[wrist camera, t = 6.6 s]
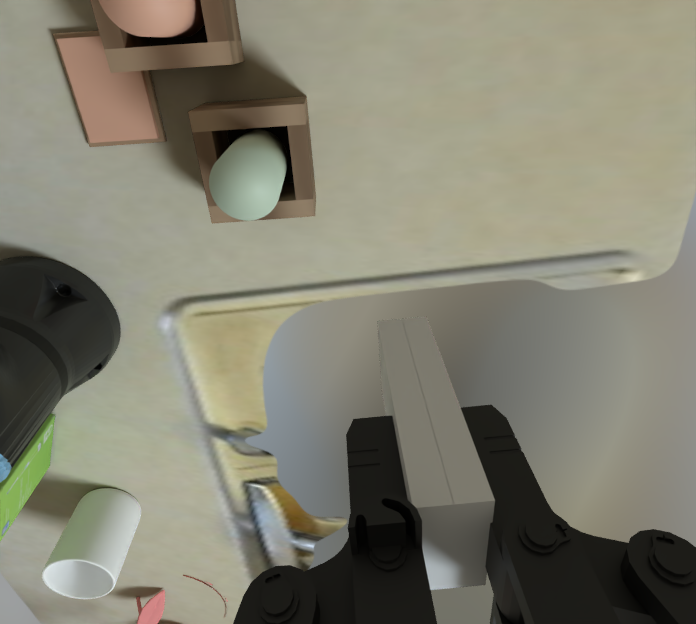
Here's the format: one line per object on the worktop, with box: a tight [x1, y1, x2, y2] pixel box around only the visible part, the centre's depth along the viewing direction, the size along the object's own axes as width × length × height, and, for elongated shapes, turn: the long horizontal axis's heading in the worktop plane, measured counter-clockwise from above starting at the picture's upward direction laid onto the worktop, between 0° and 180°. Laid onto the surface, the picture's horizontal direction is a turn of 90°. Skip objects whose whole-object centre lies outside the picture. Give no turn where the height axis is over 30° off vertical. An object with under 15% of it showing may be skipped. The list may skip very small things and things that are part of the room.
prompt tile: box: [53, 31, 167, 147], centre depth 40 cm, size 7×9×1 cm
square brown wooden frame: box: [188, 96, 316, 223], centre depth 41 cm, size 9×9×6 cm
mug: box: [42, 488, 141, 599], centre depth 63 cm, size 9×12×11 cm
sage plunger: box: [209, 129, 288, 221], centre depth 37 cm, size 5×5×9 cm
